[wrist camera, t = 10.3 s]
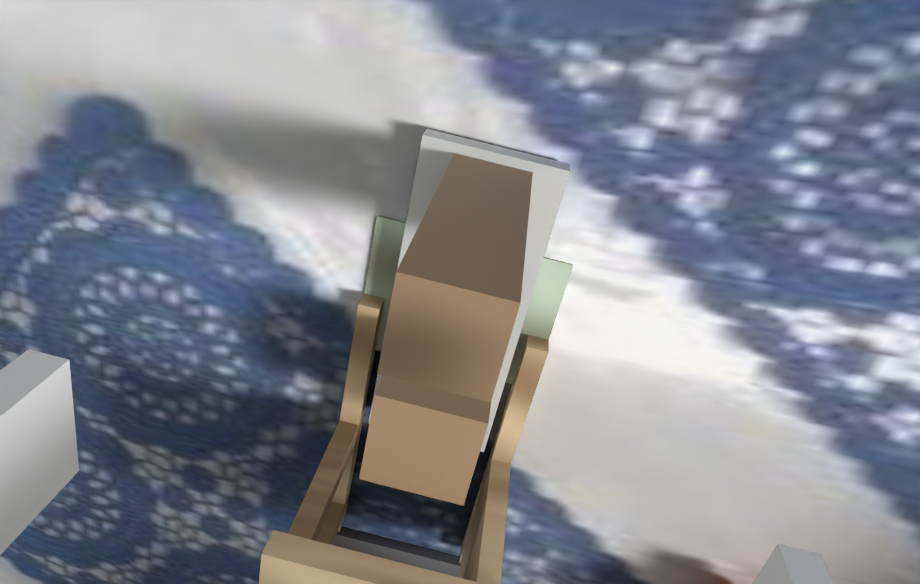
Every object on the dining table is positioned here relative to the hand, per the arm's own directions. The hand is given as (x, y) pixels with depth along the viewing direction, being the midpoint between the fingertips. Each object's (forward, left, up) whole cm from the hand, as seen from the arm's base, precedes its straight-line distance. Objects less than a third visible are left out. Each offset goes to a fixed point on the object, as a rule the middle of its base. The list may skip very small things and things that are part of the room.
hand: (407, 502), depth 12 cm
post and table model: (+4, +4, -18) cm, 19 cm away
